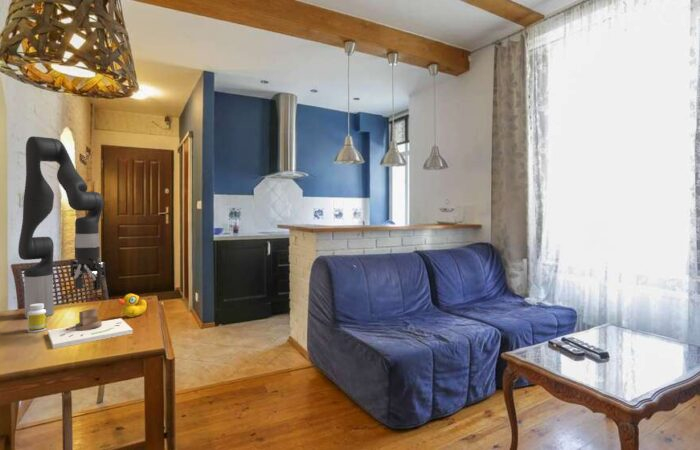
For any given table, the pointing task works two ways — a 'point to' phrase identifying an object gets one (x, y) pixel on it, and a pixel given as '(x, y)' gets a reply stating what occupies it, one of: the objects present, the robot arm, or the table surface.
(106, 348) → the table surface
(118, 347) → the table surface
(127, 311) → the duckling
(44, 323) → the supplement bottle
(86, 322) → the knob
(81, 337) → the dial board
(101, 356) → the table surface
